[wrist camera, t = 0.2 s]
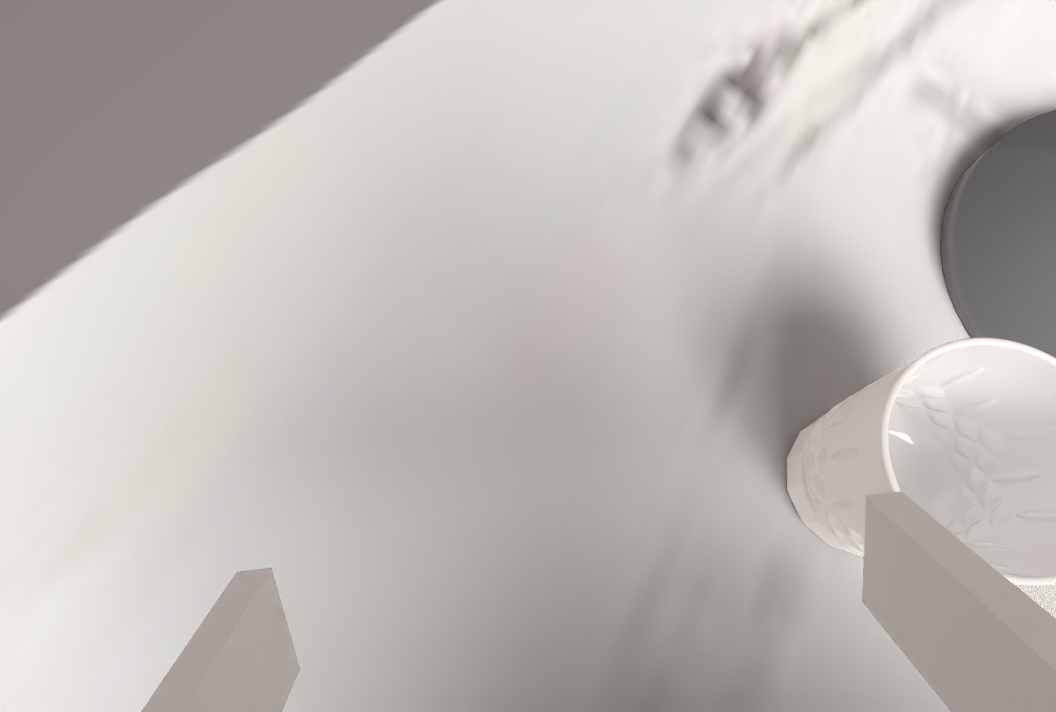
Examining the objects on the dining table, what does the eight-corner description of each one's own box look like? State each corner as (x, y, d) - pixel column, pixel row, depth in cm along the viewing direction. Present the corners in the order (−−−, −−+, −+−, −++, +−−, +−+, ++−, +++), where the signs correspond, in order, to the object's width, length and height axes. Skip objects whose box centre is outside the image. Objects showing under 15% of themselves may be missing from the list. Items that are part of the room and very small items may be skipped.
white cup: (863, 370, 31) (1007, 294, 21) (978, 506, 29) (1193, 490, 20) (738, 457, 30) (830, 419, 20) (848, 605, 28) (1009, 640, 18)
